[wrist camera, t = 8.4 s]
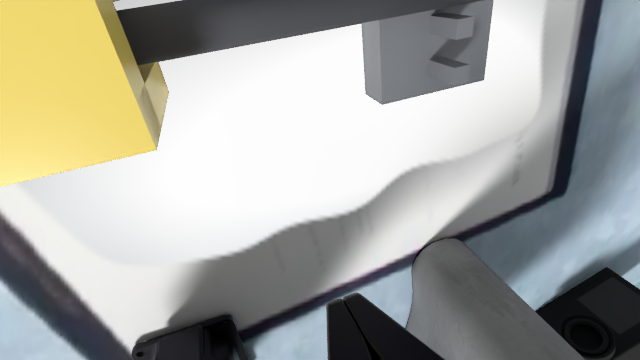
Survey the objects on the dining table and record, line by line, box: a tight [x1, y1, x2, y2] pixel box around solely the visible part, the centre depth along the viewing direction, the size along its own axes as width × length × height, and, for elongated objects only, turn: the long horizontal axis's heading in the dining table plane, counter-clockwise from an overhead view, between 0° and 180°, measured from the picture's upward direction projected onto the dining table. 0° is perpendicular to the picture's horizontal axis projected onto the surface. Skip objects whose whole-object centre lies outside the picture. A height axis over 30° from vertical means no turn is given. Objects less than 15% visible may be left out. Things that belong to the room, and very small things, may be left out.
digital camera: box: [536, 268, 640, 360], centre depth 35 cm, size 10×5×7 cm, turn 117°
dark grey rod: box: [116, 0, 483, 66], centre depth 13 cm, size 26×5×6 cm, turn 98°
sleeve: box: [0, 0, 169, 187], centre depth 11 cm, size 5×5×7 cm
